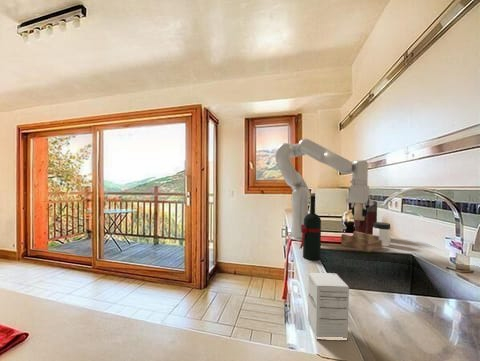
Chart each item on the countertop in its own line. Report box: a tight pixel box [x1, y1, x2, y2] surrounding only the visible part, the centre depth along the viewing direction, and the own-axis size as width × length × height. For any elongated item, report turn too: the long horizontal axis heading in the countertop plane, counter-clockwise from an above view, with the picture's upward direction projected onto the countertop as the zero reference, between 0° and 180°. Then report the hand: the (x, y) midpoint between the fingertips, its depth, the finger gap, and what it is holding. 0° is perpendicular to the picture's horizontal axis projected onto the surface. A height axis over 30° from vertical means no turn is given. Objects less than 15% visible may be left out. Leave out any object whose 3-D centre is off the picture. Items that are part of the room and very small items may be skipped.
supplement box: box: [307, 272, 350, 339], centre depth 55 cm, size 7×7×13 cm
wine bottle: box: [299, 192, 322, 262], centre depth 106 cm, size 8×10×30 cm
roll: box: [353, 203, 364, 220], centre depth 128 cm, size 5×5×11 cm
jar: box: [373, 221, 392, 248], centre depth 131 cm, size 9×8×12 cm
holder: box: [340, 230, 383, 253], centre depth 127 cm, size 15×14×6 cm
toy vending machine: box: [353, 200, 378, 235], centre depth 148 cm, size 9×11×28 cm
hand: (359, 215), depth 128 cm, fingers closed on roll, 5 cm apart
